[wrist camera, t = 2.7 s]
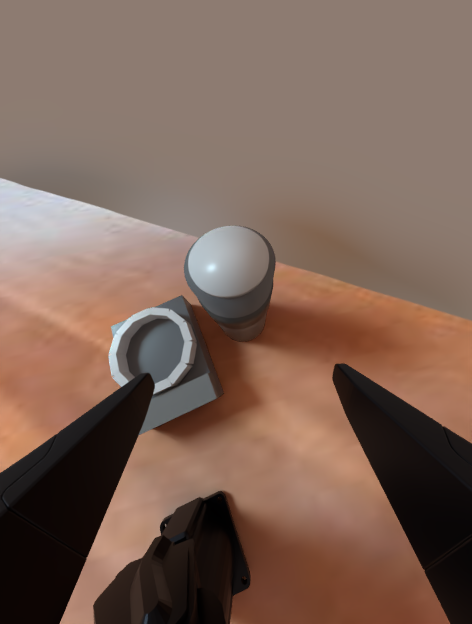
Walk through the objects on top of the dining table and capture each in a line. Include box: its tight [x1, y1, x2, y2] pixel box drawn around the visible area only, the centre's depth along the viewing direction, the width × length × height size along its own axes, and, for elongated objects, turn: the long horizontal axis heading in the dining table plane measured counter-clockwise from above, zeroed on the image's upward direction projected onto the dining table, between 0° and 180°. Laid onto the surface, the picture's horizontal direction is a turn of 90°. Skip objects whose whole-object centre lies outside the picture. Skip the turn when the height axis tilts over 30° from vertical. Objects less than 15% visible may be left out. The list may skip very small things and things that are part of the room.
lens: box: [184, 226, 275, 342], centre depth 17 cm, size 6×6×13 cm
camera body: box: [108, 295, 224, 435], centre depth 20 cm, size 12×9×4 cm
